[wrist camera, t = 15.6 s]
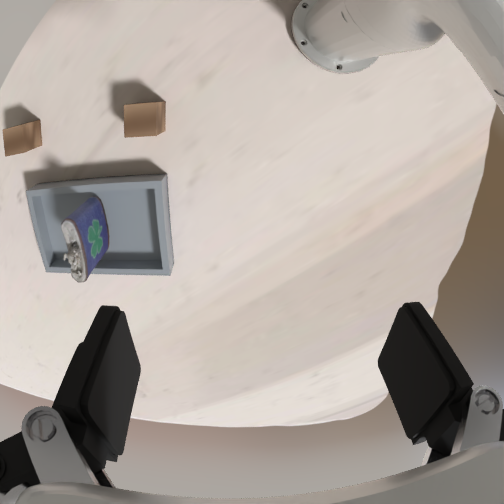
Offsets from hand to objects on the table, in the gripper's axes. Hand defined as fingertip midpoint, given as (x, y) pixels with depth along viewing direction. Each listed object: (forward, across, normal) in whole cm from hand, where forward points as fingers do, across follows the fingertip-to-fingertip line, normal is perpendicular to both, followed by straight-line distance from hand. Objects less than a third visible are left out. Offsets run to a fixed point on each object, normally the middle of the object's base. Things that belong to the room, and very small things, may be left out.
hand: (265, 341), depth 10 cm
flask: (+32, +21, +10) cm, 40 cm away
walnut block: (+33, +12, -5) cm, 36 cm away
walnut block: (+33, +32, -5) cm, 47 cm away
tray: (+33, +21, +10) cm, 41 cm away
